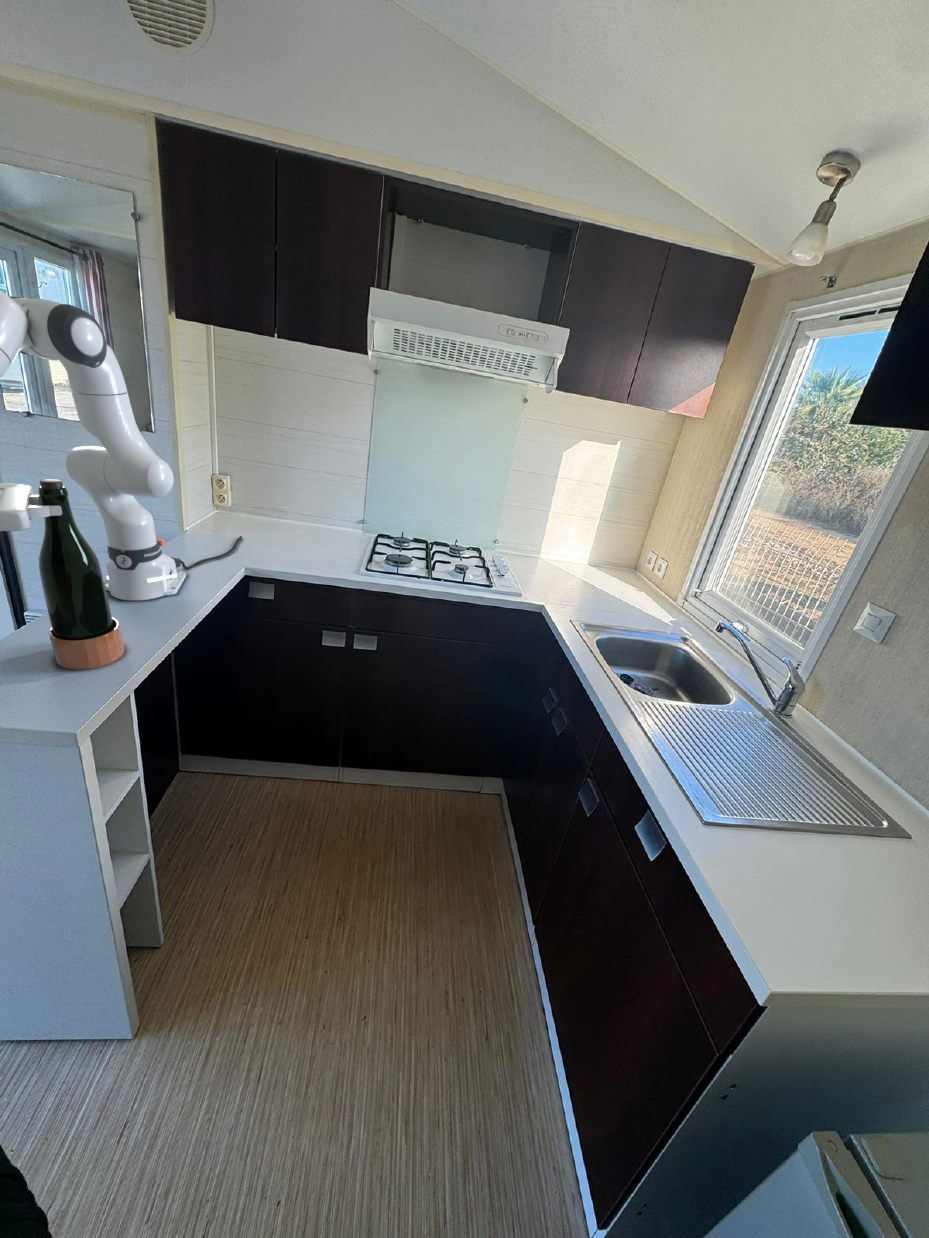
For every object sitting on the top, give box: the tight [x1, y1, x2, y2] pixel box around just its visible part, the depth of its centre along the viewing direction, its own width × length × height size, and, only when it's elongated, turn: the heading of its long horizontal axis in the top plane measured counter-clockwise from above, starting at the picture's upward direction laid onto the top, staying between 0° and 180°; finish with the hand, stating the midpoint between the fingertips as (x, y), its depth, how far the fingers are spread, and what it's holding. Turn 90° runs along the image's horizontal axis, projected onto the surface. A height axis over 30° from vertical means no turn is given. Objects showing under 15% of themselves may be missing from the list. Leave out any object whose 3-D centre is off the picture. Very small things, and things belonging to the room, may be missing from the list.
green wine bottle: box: [37, 478, 113, 641], centre depth 99 cm, size 10×10×33 cm
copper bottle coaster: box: [48, 616, 125, 671], centre depth 107 cm, size 12×12×7 cm
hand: (62, 506), depth 95 cm, fingers closed on green wine bottle, 4 cm apart
